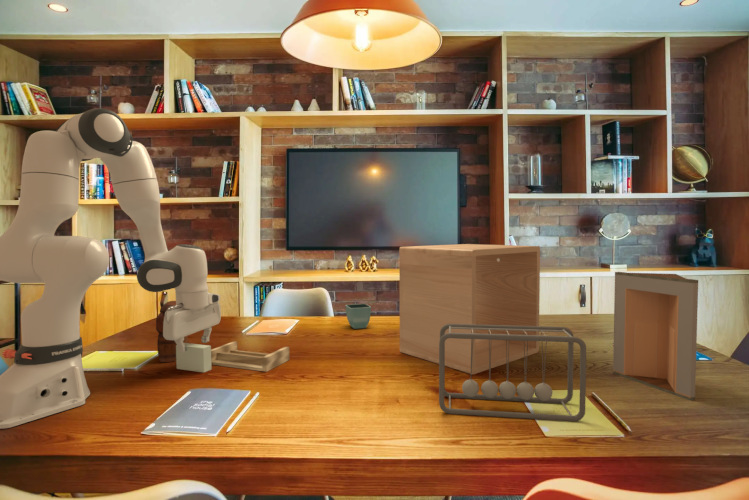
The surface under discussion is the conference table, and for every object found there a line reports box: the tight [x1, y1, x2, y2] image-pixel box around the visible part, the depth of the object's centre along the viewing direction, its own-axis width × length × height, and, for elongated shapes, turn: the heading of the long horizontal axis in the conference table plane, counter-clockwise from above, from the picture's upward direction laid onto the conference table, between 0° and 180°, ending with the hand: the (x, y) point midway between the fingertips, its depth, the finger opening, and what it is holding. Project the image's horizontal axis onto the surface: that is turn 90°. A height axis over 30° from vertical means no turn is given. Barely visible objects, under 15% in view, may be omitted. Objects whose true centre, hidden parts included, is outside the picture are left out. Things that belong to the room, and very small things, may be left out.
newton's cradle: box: [438, 324, 587, 422], centre depth 99 cm, size 30×10×18 cm, turn 81°
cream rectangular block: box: [175, 342, 212, 373], centre depth 128 cm, size 3×10×7 cm, turn 69°
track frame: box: [211, 340, 290, 373], centre depth 134 cm, size 12×21×4 cm, turn 69°
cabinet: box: [612, 271, 699, 401], centre depth 113 cm, size 21×10×28 cm, turn 21°
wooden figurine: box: [155, 300, 190, 363], centre depth 139 cm, size 12×6×18 cm, turn 175°
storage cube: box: [398, 243, 541, 376], centre depth 143 cm, size 34×29×34 cm
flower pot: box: [345, 303, 372, 330], centre depth 180 cm, size 9×9×9 cm
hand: (194, 346), depth 130 cm, fingers open, 8 cm apart
